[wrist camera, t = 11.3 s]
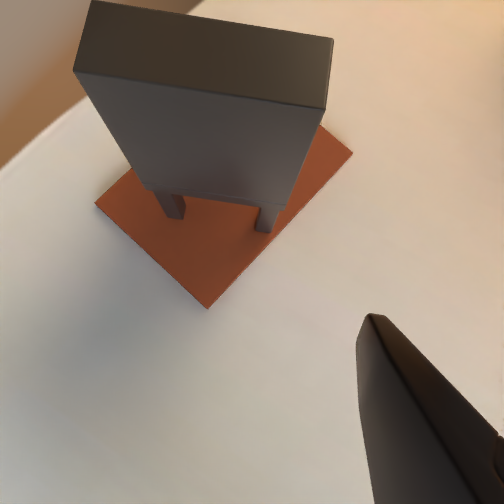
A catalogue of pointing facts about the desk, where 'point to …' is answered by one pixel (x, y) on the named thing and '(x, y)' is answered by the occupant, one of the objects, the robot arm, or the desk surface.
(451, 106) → the desk surface
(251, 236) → the mat
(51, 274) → the desk surface
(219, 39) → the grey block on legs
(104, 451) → the desk surface
